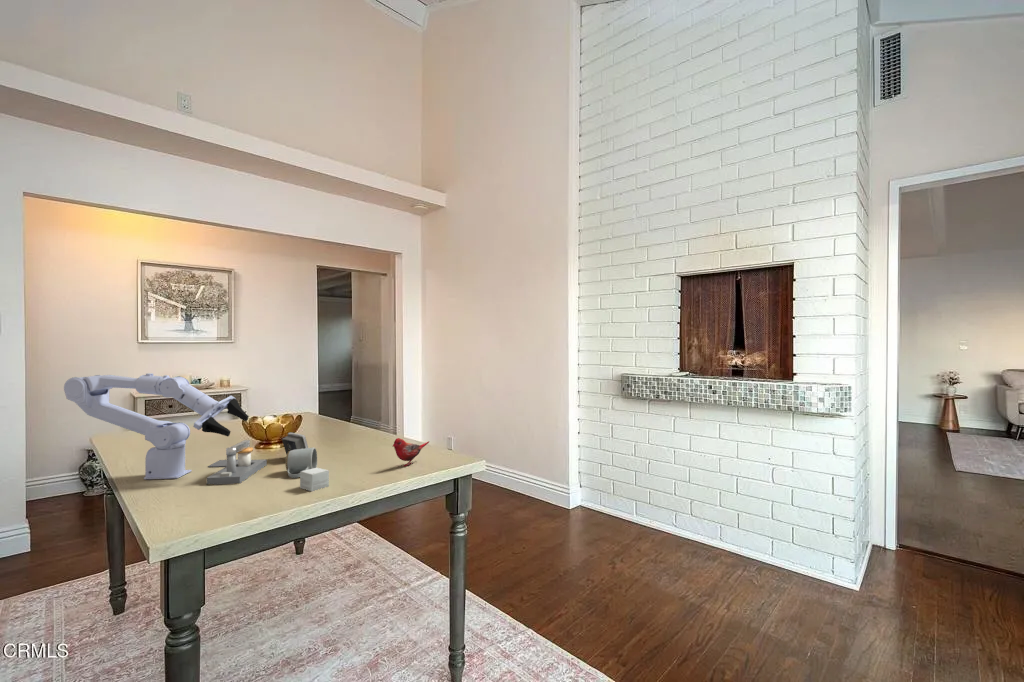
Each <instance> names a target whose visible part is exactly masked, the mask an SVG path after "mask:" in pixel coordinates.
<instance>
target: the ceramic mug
mask: <svg viewBox="0 0 1024 682" xmlns="http://www.w3.org/2000/svg"><path fill="white" fill-rule="evenodd" d="M284 463H285V470H286V472H287V475H288V478H291V479H299V478H298V477H300V472H301V471H304V470H309V469H313V468H318V451H317V448H316V447H314V446H313V447H308V448H305V449H296V450H291V451H289V452H288V453H287V455H286V454H285V462H284Z"/></svg>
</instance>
